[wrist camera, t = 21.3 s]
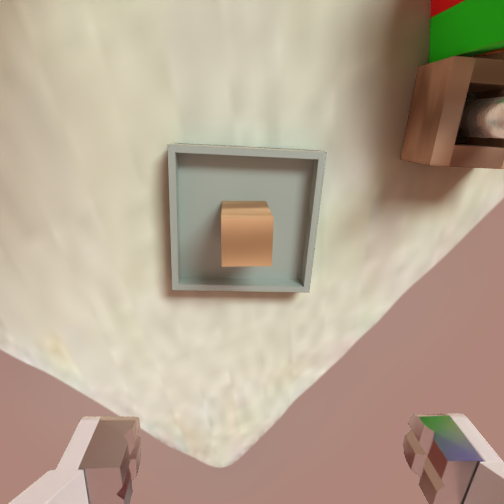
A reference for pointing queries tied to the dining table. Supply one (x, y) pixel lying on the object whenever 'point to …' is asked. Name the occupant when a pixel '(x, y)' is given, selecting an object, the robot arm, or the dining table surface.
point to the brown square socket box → (452, 113)
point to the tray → (242, 189)
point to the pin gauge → (482, 118)
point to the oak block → (246, 233)
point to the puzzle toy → (466, 28)
